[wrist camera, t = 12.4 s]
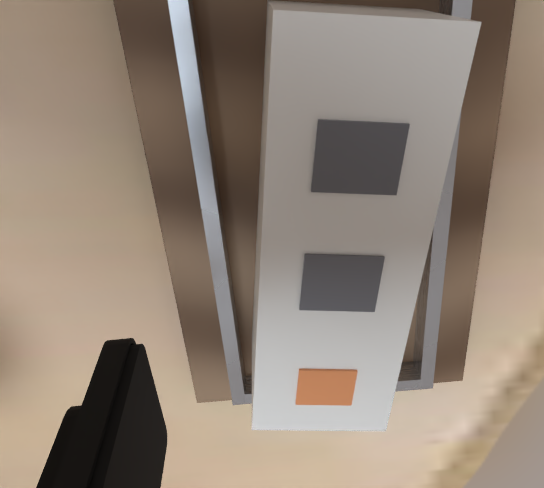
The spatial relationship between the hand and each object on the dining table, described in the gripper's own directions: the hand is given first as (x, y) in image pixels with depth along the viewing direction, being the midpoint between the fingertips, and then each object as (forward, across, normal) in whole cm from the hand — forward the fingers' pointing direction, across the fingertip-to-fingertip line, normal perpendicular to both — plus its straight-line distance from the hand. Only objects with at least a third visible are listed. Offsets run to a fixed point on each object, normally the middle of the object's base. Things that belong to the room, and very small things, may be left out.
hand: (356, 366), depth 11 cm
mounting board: (+10, -1, 0) cm, 11 cm away
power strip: (+10, -1, 0) cm, 10 cm away
